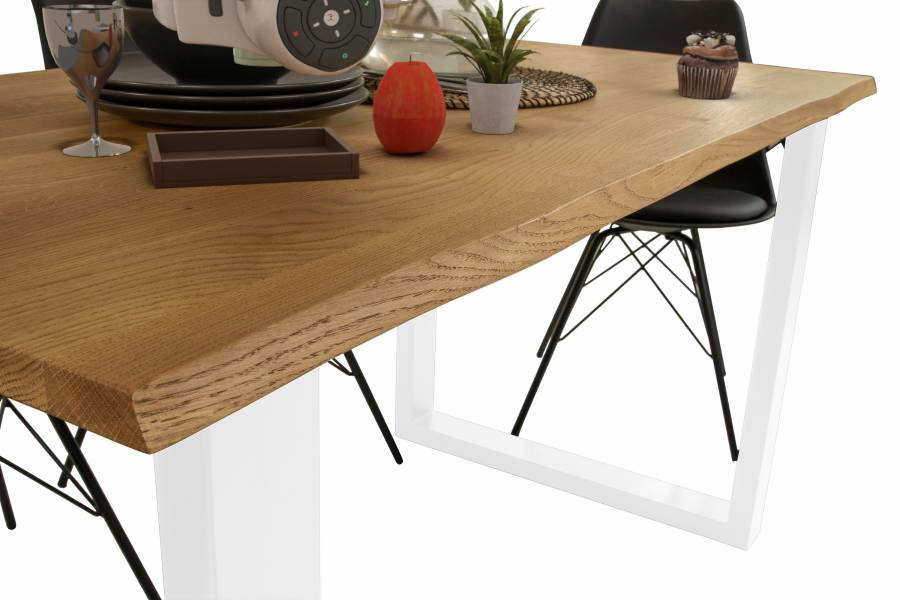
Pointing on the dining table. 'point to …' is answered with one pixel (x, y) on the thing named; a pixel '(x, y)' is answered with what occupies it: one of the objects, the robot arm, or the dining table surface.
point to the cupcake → (708, 66)
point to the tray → (249, 157)
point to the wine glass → (87, 59)
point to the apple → (409, 108)
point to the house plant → (493, 71)
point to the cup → (252, 58)
